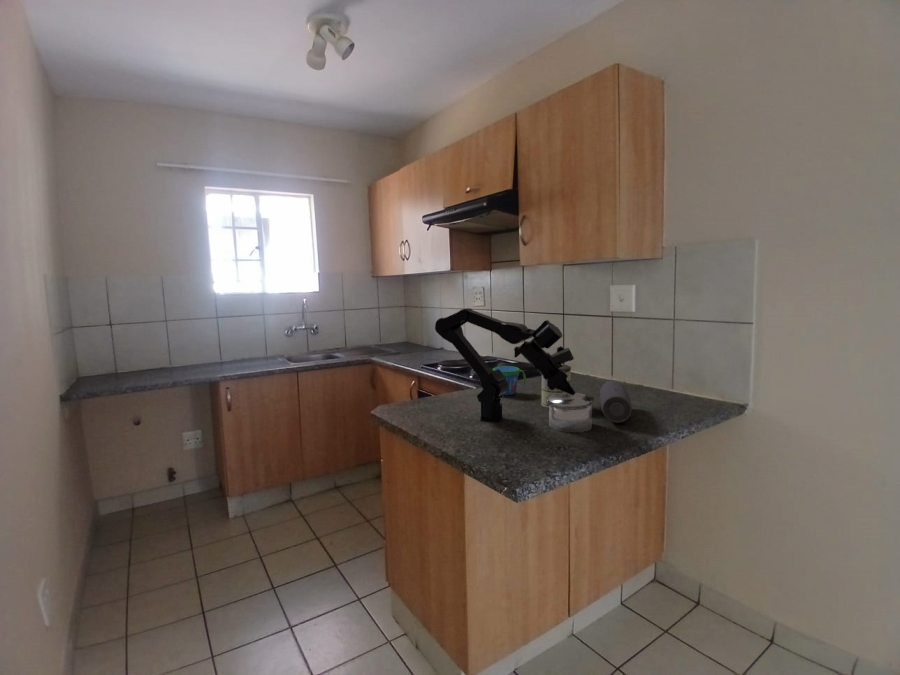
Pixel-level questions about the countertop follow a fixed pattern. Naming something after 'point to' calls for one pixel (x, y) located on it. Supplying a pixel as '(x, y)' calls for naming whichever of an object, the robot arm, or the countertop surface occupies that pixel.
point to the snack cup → (511, 378)
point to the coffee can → (548, 392)
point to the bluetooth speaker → (615, 401)
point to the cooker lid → (570, 400)
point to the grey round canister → (570, 418)
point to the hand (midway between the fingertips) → (574, 394)
